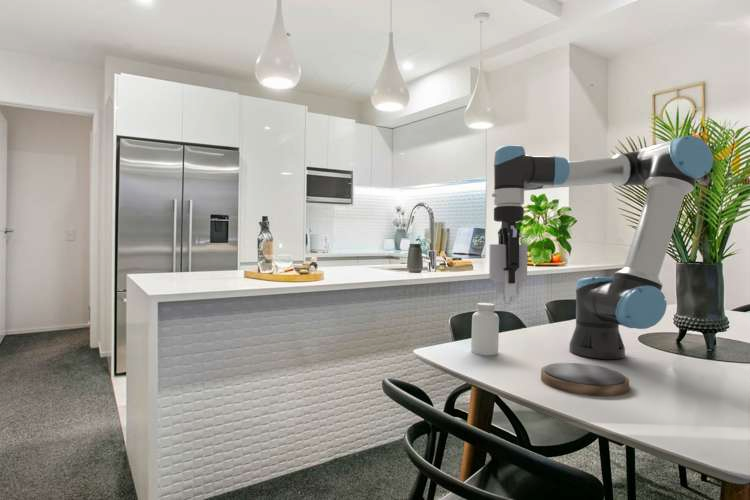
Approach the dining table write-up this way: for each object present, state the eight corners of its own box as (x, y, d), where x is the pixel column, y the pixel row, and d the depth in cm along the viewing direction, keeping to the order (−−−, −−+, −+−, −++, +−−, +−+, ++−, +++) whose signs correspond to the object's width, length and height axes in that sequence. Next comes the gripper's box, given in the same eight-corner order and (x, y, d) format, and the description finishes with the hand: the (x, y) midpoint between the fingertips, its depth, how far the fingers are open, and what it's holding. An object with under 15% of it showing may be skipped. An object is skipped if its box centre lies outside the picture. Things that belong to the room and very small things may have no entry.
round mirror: (605, 372, 115) (605, 363, 115) (646, 397, 96) (646, 385, 96) (531, 370, 116) (531, 361, 116) (556, 394, 97) (557, 383, 97)
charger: (527, 303, 113) (528, 244, 113) (490, 302, 115) (490, 244, 115) (524, 301, 118) (525, 244, 118) (488, 300, 120) (489, 244, 120)
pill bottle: (499, 357, 130) (500, 306, 130) (471, 355, 132) (472, 304, 132) (497, 351, 138) (498, 302, 138) (471, 349, 139) (471, 301, 139)
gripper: (487, 209, 126) (486, 291, 126) (502, 202, 107) (501, 298, 108) (514, 209, 125) (513, 291, 125) (533, 202, 107) (532, 299, 107)
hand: (507, 294), depth 116 cm, fingers closed on charger, 5 cm apart
